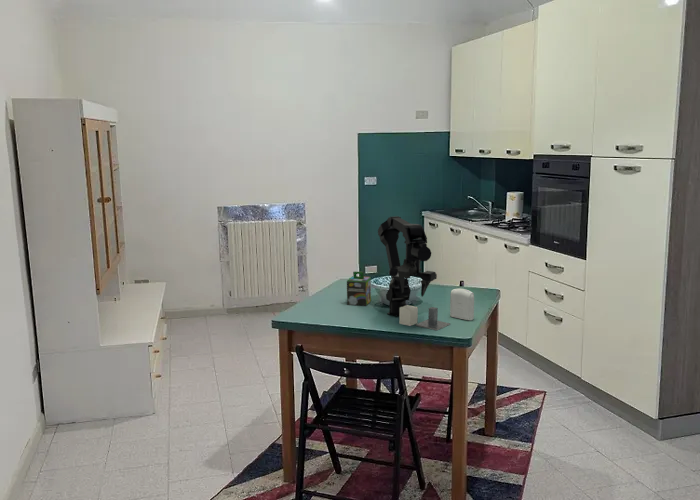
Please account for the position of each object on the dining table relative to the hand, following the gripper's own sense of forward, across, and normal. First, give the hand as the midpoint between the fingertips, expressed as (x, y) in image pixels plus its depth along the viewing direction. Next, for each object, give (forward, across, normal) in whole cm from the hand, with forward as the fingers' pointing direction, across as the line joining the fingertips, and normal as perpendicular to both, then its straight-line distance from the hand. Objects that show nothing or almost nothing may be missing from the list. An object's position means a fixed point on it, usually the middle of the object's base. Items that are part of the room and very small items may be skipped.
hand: (412, 294), depth 254 cm
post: (+12, +8, +2) cm, 15 cm away
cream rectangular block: (+12, -1, -1) cm, 12 cm away
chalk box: (+13, -35, +14) cm, 40 cm away
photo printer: (+12, +14, +18) cm, 26 cm away
